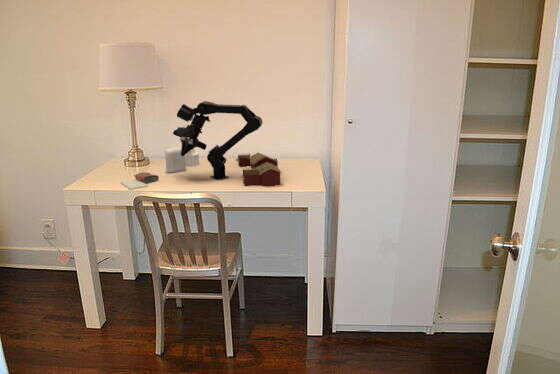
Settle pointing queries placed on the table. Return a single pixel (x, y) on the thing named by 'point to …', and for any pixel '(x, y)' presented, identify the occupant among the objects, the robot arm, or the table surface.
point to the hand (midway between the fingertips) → (181, 155)
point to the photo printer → (174, 160)
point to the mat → (134, 184)
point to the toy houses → (259, 170)
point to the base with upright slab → (192, 158)
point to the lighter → (146, 177)
